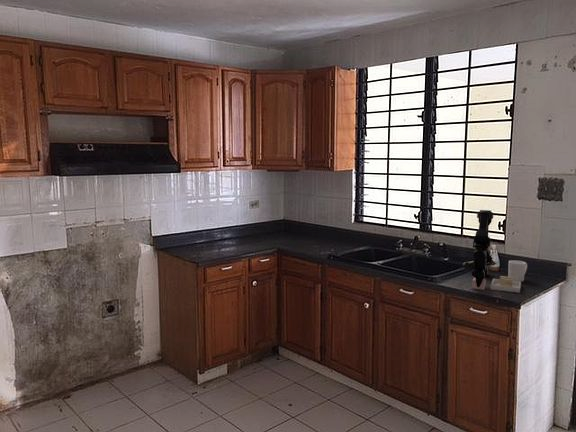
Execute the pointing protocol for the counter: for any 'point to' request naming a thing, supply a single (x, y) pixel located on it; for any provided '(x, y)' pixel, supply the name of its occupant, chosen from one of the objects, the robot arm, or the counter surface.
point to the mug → (517, 270)
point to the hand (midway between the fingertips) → (478, 285)
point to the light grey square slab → (514, 288)
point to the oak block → (506, 281)
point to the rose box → (480, 285)
